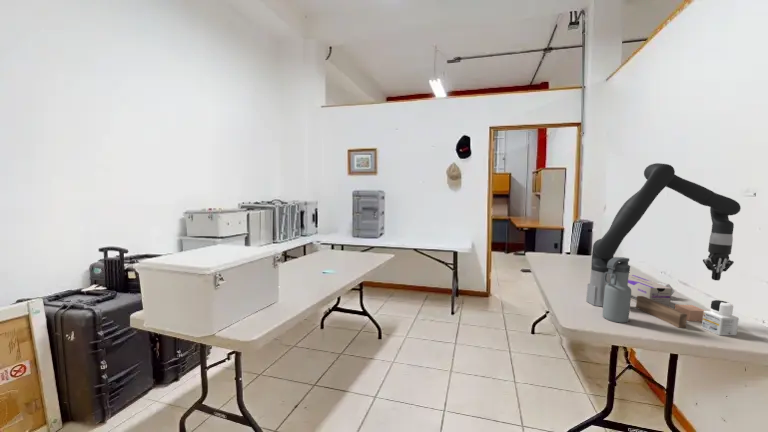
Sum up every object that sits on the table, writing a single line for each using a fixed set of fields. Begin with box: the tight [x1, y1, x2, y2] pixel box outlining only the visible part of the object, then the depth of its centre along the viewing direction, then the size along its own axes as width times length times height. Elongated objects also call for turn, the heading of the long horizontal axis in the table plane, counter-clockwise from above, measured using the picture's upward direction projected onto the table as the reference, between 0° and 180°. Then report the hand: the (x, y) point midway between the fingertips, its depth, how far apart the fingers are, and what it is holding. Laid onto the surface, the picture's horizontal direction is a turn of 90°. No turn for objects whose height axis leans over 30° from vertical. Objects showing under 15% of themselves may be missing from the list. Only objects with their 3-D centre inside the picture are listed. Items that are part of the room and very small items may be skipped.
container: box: [701, 299, 740, 336], centre depth 144 cm, size 8×8×13 cm
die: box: [657, 282, 675, 297], centre depth 189 cm, size 8×9×10 cm
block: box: [674, 304, 707, 322], centre depth 159 cm, size 8×8×5 cm
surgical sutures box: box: [628, 274, 673, 307], centre depth 183 cm, size 25×11×11 cm, turn 1°
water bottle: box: [601, 256, 632, 324], centre depth 153 cm, size 10×10×28 cm
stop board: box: [635, 296, 687, 329], centre depth 159 cm, size 3×24×6 cm, turn 2°
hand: (715, 279), depth 158 cm, fingers closed
